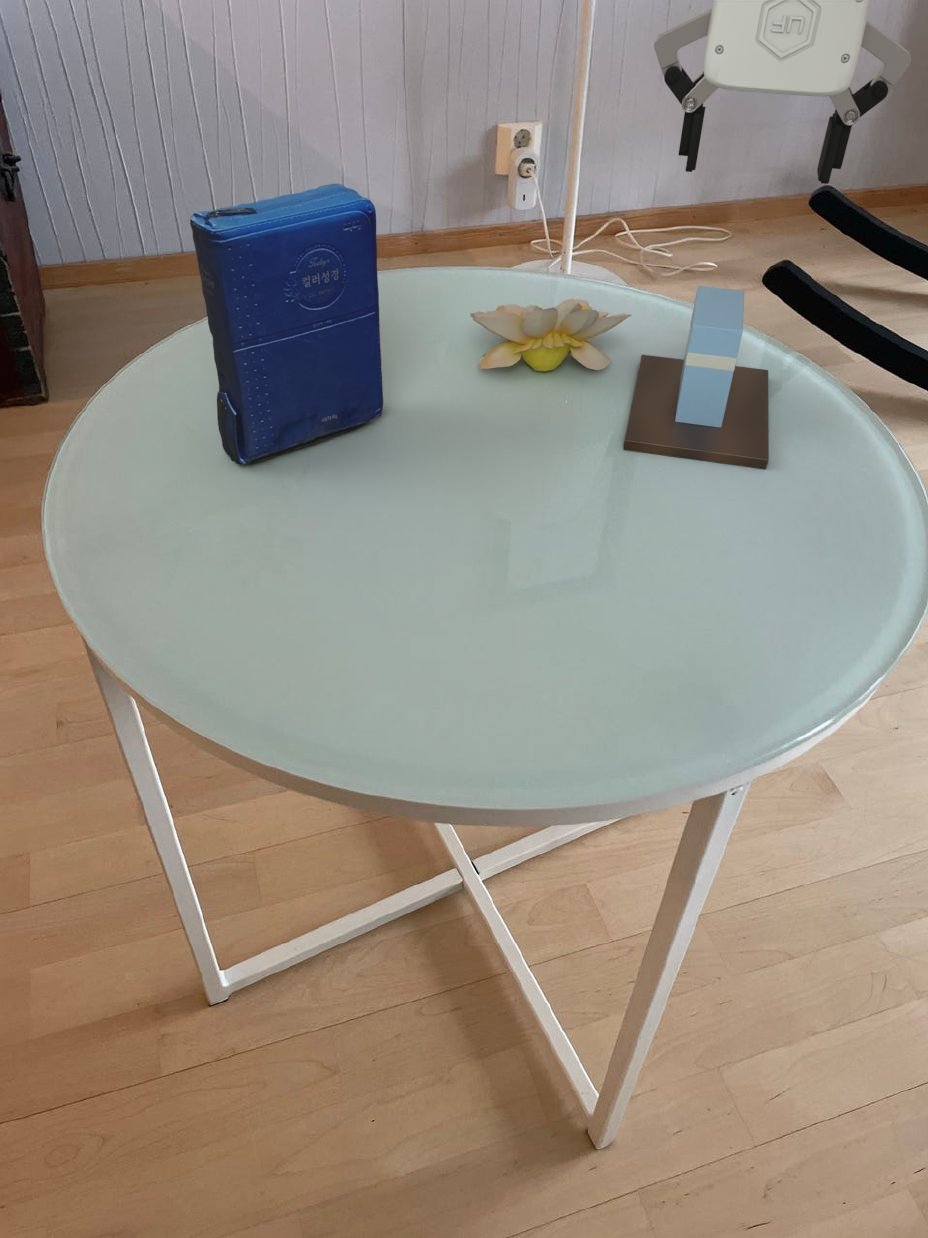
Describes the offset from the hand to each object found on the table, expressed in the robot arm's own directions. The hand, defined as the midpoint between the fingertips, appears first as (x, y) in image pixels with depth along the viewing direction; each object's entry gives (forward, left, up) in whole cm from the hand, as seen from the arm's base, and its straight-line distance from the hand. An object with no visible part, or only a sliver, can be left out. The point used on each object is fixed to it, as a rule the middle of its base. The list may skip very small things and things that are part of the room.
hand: (756, 171), depth 74 cm
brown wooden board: (+1, -2, -22) cm, 22 cm away
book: (+34, +11, -22) cm, 42 cm away
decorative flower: (+16, -8, -22) cm, 28 cm away
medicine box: (+1, -2, -21) cm, 21 cm away
